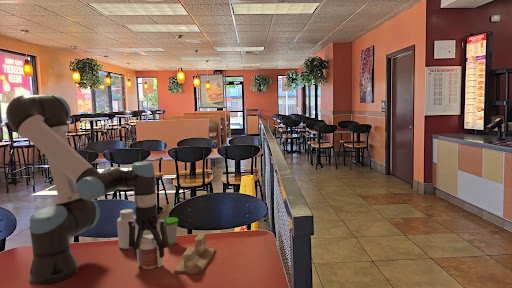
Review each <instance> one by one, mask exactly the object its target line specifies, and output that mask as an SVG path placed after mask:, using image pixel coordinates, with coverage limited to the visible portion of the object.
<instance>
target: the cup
mask: <svg viewBox="0 0 512 288" xmlns="http://www.w3.org/2000/svg"><path fill="white" fill-rule="evenodd" d="M161 214H162V215H163V217H164V218H161V219H160V220H166V231H167V237H168V242H169V245H168V246H169V247H170V246H174V245H176V243H177V235H178V234H177V233H178V222H179V218H178V217H175V216H172V217H171V216H169V217H166V214H165V212H164V211H163V212H161ZM168 246H167V247H168Z"/></svg>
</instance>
